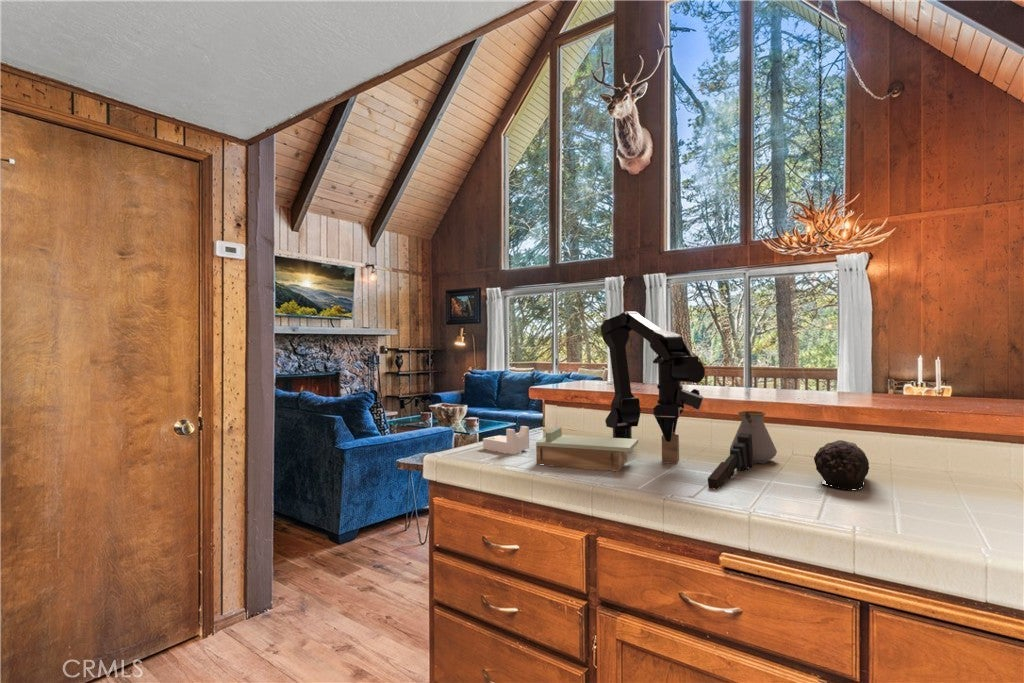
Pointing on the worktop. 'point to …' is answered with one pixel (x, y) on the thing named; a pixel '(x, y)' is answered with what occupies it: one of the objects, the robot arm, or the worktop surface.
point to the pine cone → (842, 464)
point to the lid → (586, 442)
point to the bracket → (508, 441)
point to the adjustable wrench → (733, 461)
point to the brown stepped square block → (670, 449)
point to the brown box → (581, 458)
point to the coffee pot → (756, 436)
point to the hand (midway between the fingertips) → (670, 438)
